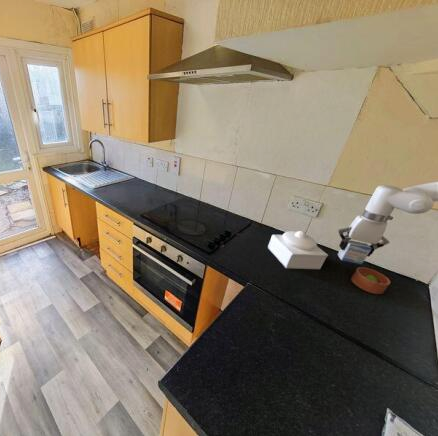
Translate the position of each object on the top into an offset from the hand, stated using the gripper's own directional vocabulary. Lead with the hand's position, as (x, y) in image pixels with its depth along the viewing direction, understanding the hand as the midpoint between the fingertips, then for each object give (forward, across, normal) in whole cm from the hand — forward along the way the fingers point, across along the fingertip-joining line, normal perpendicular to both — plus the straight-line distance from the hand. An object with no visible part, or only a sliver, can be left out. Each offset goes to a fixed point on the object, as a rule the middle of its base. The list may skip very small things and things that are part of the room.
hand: (353, 251), depth 99 cm
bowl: (+15, -10, 0) cm, 18 cm away
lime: (+12, -10, 0) cm, 16 cm away
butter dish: (+15, +19, -6) cm, 25 cm away
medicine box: (+5, 0, 0) cm, 5 cm away
